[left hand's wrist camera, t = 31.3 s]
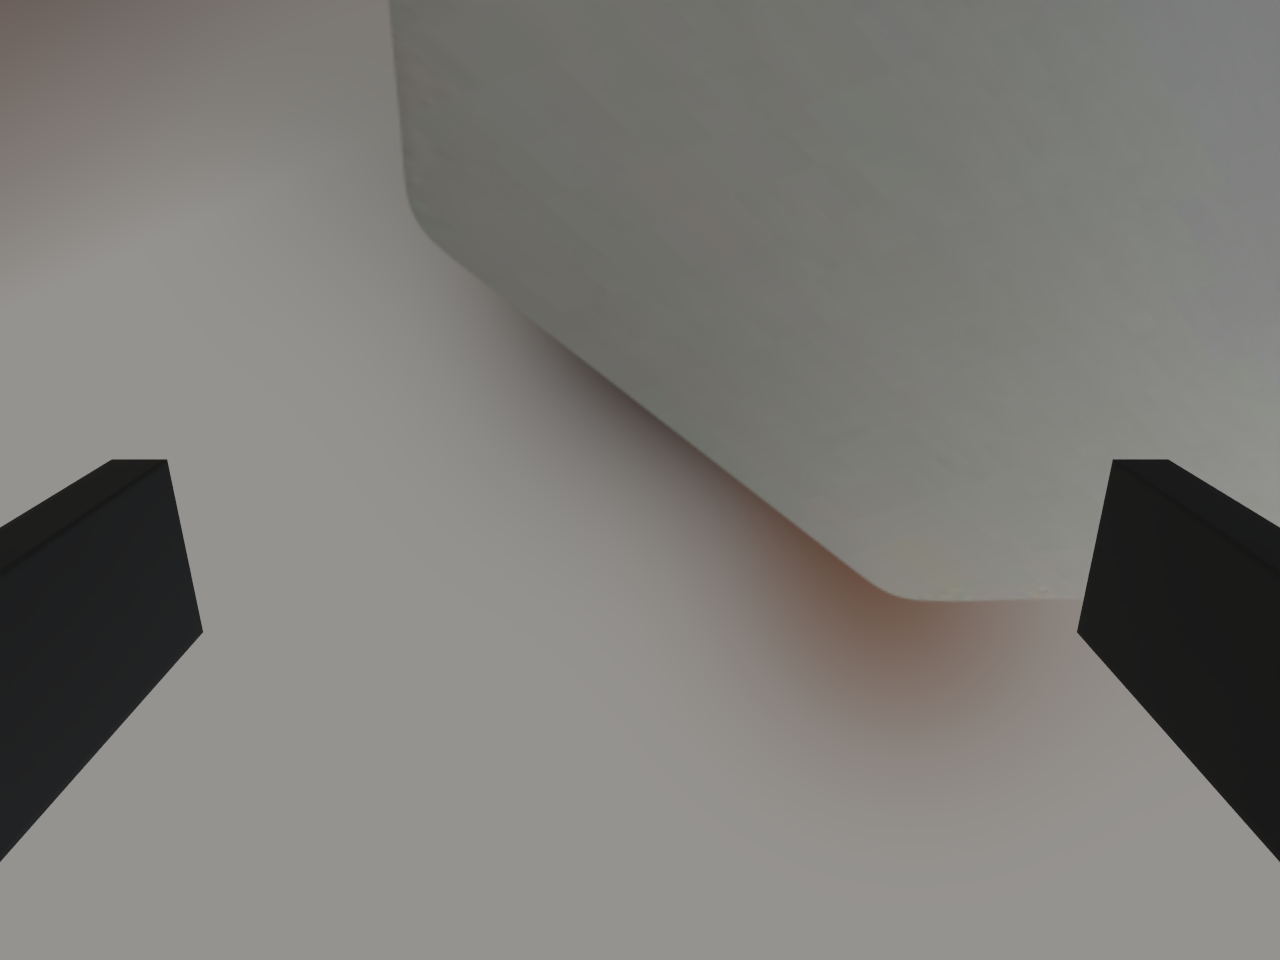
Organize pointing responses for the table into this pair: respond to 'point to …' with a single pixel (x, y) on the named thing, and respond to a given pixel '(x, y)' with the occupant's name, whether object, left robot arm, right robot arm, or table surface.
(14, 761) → the left robot arm
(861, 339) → the table surface
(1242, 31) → the table surface
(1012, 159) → the table surface
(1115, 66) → the table surface
